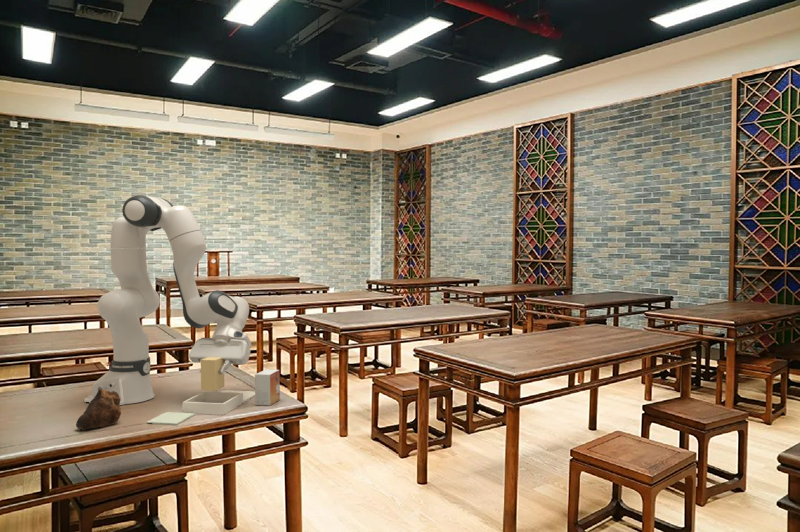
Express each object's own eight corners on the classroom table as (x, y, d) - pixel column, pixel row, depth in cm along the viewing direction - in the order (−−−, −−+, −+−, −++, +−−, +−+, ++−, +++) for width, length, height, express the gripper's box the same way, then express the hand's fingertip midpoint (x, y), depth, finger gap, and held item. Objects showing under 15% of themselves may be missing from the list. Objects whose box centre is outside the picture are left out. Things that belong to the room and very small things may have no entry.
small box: (270, 406, 181) (269, 374, 181) (254, 405, 182) (254, 374, 182) (280, 399, 189) (280, 369, 188) (265, 398, 190) (265, 368, 190)
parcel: (201, 390, 176) (200, 359, 176) (210, 385, 182) (210, 356, 182) (215, 391, 175) (215, 360, 175) (224, 386, 181) (224, 356, 181)
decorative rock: (117, 419, 168) (116, 384, 167) (125, 423, 164) (124, 388, 163) (74, 429, 159) (73, 392, 158) (81, 433, 155) (80, 396, 154)
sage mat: (146, 423, 163) (146, 421, 163) (166, 413, 173) (166, 412, 173) (176, 425, 162) (176, 423, 162) (195, 415, 171) (195, 413, 171)
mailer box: (182, 412, 174) (182, 402, 174) (222, 391, 200) (222, 382, 200) (224, 414, 171) (223, 403, 171) (259, 392, 197) (259, 383, 197)
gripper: (194, 332, 187) (178, 366, 177) (250, 333, 183) (237, 368, 174) (201, 342, 191) (186, 377, 182) (256, 344, 188) (243, 379, 179)
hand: (211, 373), depth 178 cm, fingers closed on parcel, 5 cm apart
